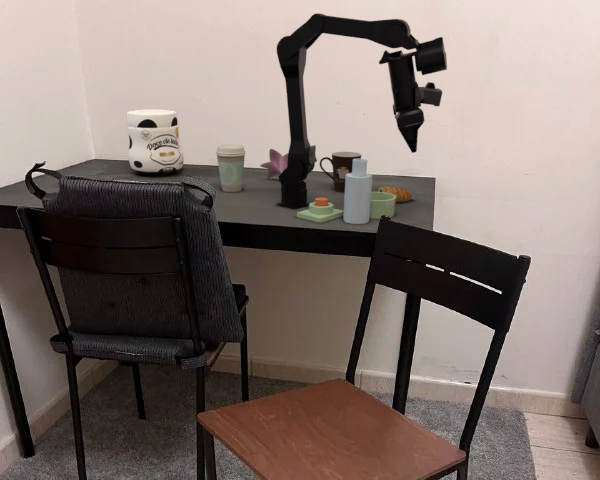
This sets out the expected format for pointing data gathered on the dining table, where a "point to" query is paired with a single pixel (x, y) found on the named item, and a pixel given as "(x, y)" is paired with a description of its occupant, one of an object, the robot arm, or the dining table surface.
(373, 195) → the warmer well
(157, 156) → the doce de leite jar
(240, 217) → the dining table surface
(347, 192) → the bottle
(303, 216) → the panel
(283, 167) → the lily
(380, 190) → the pastry
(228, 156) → the coffee cup
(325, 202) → the button
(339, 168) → the coffee mug
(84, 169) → the dining table surface
